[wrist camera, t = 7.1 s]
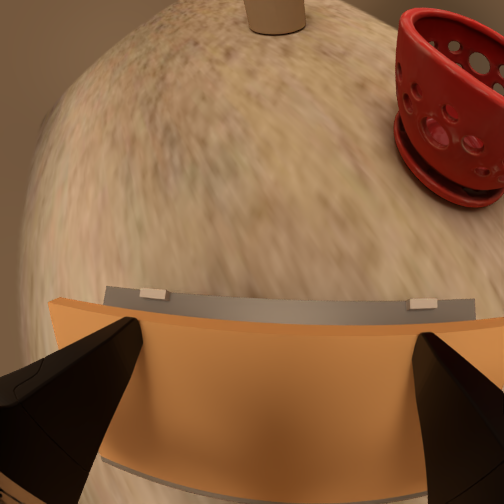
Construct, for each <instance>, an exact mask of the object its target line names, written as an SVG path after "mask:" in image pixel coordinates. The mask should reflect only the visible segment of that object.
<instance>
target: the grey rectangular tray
mask: <svg viewBox="0 0 504 504" xmlns="http://www.w3.org/2000/svg"><path fill="white" fill-rule="evenodd" d="M103 305H106V306H112V307H119V308H125V309H132V310H139V311H146V312H154V313H162V314H170V315H179V316H188V317H198V318H208V319H220V320H232V321H245V322H261V323H279V324H303V325H405V324H428V323H445V322H458V321H470V320H476V313H475V299H457V300H437V298H421V299H409V300H407V301H316V300H285V299H261V298H242V297H225V296H210V295H196V294H183V293H171V292H169V291H167V290H160V289H149V288H141V289H140V290H139V289H129V288H120V287H111V286H106V291H105V297H104V303H103Z"/></svg>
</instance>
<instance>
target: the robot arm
mask: <svg viewBox="0 0 504 504" xmlns="http://www.w3.org/2000/svg"><path fill="white" fill-rule="evenodd" d="M142 345H143V337H142V331H141V327H140V324H139V321H138V320H137V318H135V317H128V316H126V317H123V318H121V319H119V320H117V321H115V322H113V323H111V324H109V325H107V326H105V327H104V328H102V329H100V330H98V331H96V332H94V333H92V334H90V335H88V336H86V337H84V338H82V339H80V340H78V341H76V342H74V343H72V344H70V345H68V346H66V347H64V348H62V349H60V350H58V351H56V352H54V353H52V354H50V355H48V356H46V357H45V358H42V359H40V360H38V361H36V362H34V363H32V364H30V365H28V366H26V367H24V368H21V369H19V370H16V371H14V372H12V373H9V374H7V375H4V376H2V377H0V504H78V501H79V499H80V496H81V493H82V491H83V488H84V485H85V483H86V480H87V478H88V475H89V472H90V470H91V467H92V465H93V462H94V460H95V458H96V455H97V453H98V450H99V448H100V446H101V443H102V441H103V439H104V436H105V434H106V432H107V429H108V427H109V425H110V422H111V420H112V418H113V416H114V414H115V411H116V409H117V407H118V405H119V403H120V400H121V398H122V396H123V394H124V392H125V390H126V387H127V385H128V383H129V381H130V379H131V376H132V373H133V371H134V368H135V365H136V362H137V359H138V356H139V354H140V351H141V348H142ZM412 366H413V375H414V386H415V397H416V404H417V410H418V416H419V421H420V428H421V434H422V441H423V449H424V457H425V467H426V478H427V493H428V504H504V394H503V391H502V390H501V389H500V388H499V387H497V386H496V385H495V384H494V383H493V382H492V381H491V380H489V379H488V378H487V377H486V376H485V375H484V374H482V373H481V372H480V371H479V370H478V369H477V368H475V367H474V366H473V365H472V364H471V363H470V362H468V361H467V360H466V359H465V358H464V357H462V356H461V355H460V354H459V353H458V352H456V351H455V350H454V349H453V348H452V347H450V346H449V345H448V344H447V343H445V342H444V341H443V340H442V339H440V338H439V337H438V336H437V335H435V334H434V333H433V332H421V333H420V334H419V336H418V338H417V341H416V343H415V347H414V351H413V355H412Z"/></svg>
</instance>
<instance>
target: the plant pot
mask: <svg viewBox="0 0 504 504" xmlns="http://www.w3.org/2000/svg"><path fill="white" fill-rule="evenodd" d="M431 41H434V44H435V46H434V47H433V46H432V45H430V44H429V42H431ZM451 41H457V42H459V44H460V48H459V50H458V51H450V50H449V48H448V44H449V43H450V42H451ZM474 52H478V53H481V54H483V55H484V56H485V57H486V58H487V59H488V61H489V63H490V70H489V72H488V73H487V74H480V73H478V72H476V71H475V70H473V68H472V67H471V66H470V63H469V56H470V55H471V54H472V53H474ZM455 63H458V64H460V65H461V66H462V68H461V67H459V66H458V65H457V64H455ZM501 65H504V37H503V36H501V35H500V34H499V33H497V32H495V31H494V30H492V29H490V28H488V27H487V26H485V25H483V24H481V23H479V22H477V21H475V20H472V19H470V18H467V17H464V16H462V15H459V14H456V13H453V12H449V11H445V10H440V9H433V8H413V9H410V10H408V11H405V12H404V13H403V14H402V15H401V17H400V20H399V28H398V37H397V47H396V63H395V75H396V95H397V101H398V107H399V111H398V113H397V115H396V117H395V121H394V136H395V141H396V144H397V147H398V149H399V152H400V154H401V156H402V158H403V160H404V161H405V163H406V164H407V166H408V167H409V169H410V170H411V171H412V172H413V174H414V175H415V176H416V177H417V178H418V179H419V180H420V181H421V182H422V183H423V184H424V185H425V186H426V187H428V188H429V189H430V190H431V191H433V192H434V193H436V194H437V195H439V196H440V197H442V198H444V199H446V200H448V201H450V202H452V203H455V204H458V205H462V206H465V207H475V208H476V207H485V206H488V205H491V204H493V203H494V202H496V201H497V200H498V199H499V198H500V197H501V196H502V195H503V193H504V96H502V95H500V94H499V93H497V92H496V91H494V90H493V86H494V84H495V83H499V84H501V85H502V86H503V88H504V78H503V77H502V76H501V75H500V72H499V68H500V66H501Z"/></svg>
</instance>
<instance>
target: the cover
mask: <svg viewBox="0 0 504 504" xmlns="http://www.w3.org/2000/svg"><path fill="white" fill-rule="evenodd" d="M48 306H49V311H50V315H51V320H52V324H53V328H54V332H55V336H56V340H57V344H58V348H59V350H60V349H62V348H64V347H66V346H68V345H70V344H72V343H74V342H76V341H78V340H80V339H82V338H84V337H86V336H88V335H90V334H92V333H94V332H96V331H98V330H100V329H102V328H104V327H105V326H107V325H109V324H111V323H113V322H115V321H117V320H119V319H121V318H123V317H126V316H128V317H135V318H137V320H138V321H139V324H140V327H141V331H142V337H143V345H142V348H141V351H140V354H139V356H138V359H137V362H136V365H135V368H134V371H133V373H132V376H131V379H130V381H129V383H128V385H127V387H126V390H125V392H124V394H123V396H122V398H121V400H120V403H119V405H118V407H117V409H116V411H115V414H114V416H113V418H112V420H111V422H110V425H109V427H108V429H107V432H106V434H105V436H104V439H103V441H102V443H101V446H100V448H99V450H98V451H99V453H100V455H101V459H102V461H103V462H105V463H108V464H110V465H112V466H114V467H117V468H119V469H121V470H124V471H126V472H129V473H131V474H134V475H137V476H139V477H142V478H145V479H148V480H150V481H153V482H156V483H159V484H163V485H166V486H169V487H172V488H176V489H179V490H183V491H187V492H190V493H194V494H198V495H203V496H207V497H212V498H217V499H222V500H227V501H233V502H239V503H246V504H385V503H391V502H397V501H403V500H408V499H413V498H418V497H422V496H426V495H428V493H427V478H426V467H425V457H424V449H423V441H422V434H421V428H420V421H419V416H418V410H417V404H416V397H415V386H414V375H413V366H412V355H413V351H414V347H415V343H416V341H417V338H418V336H419V334H420V333H421V332H433V333H434V334H435V335H437V336H438V337H439V338H440V339H442V340H443V341H444V342H445V343H447V344H448V345H449V346H450V347H452V348H453V349H454V350H455V351H456V352H458V353H459V354H460V355H461V356H462V357H464V358H465V359H466V360H467V361H468V362H470V363H471V364H472V365H473V366H474V367H475V368H477V369H478V370H479V371H480V372H481V373H482V374H484V375H485V376H486V377H487V378H488V379H489V380H491V381H492V382H493V383H494V384H495V385H496V386H497V387H499V388H500V389H501V390H502V387H503V385H504V317H500V318H491V319H481V320H470V321H458V322H445V323H428V324H405V325H303V324H279V323H261V322H245V321H232V320H220V319H208V318H198V317H188V316H179V315H170V314H162V313H154V312H146V311H139V310H132V309H125V308H119V307H112V306H106V305H100V304H94V303H88V302H83V301H77V300H72V299H67V298H61V297H59V298H57V299H54V300H52V301H50V302H48Z"/></svg>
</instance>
